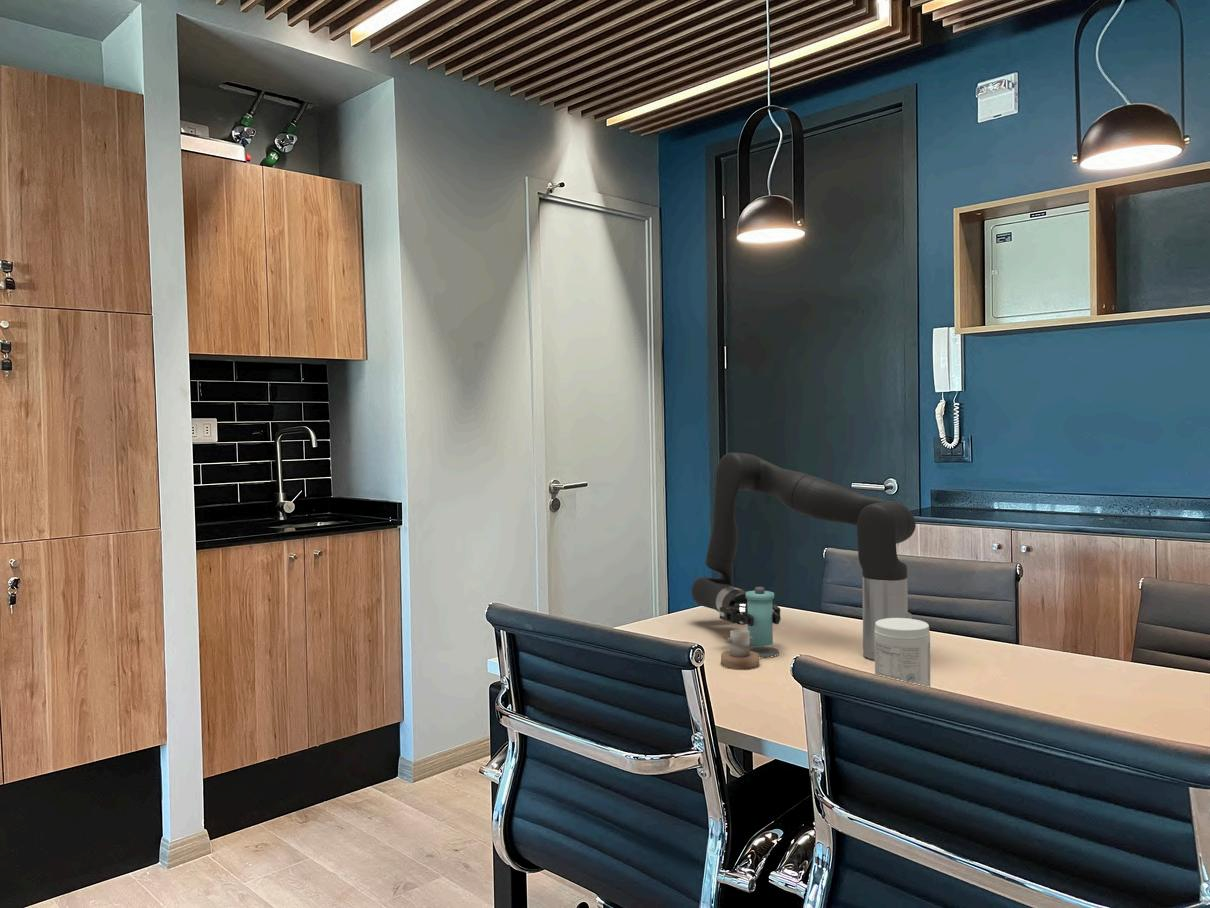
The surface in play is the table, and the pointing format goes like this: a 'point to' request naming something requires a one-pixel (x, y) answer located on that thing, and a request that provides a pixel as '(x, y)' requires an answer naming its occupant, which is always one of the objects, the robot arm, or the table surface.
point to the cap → (760, 616)
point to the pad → (764, 651)
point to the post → (740, 651)
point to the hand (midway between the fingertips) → (764, 620)
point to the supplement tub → (903, 650)
